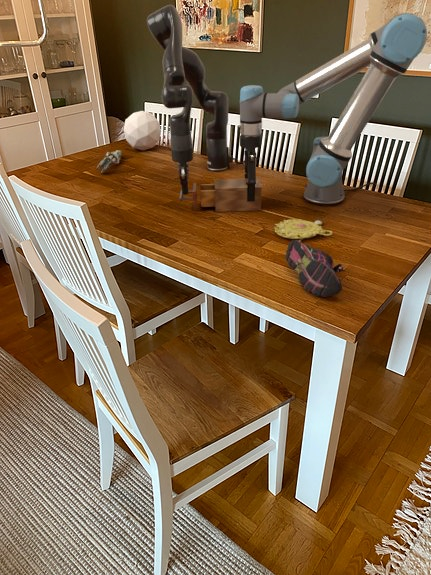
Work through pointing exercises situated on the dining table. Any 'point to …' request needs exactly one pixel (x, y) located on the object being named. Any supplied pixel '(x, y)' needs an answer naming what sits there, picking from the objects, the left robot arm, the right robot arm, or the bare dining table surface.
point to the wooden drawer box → (236, 195)
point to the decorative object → (300, 229)
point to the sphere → (142, 130)
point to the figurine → (110, 160)
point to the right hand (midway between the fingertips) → (249, 195)
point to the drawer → (202, 195)
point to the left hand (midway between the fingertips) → (185, 193)
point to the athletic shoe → (314, 269)
